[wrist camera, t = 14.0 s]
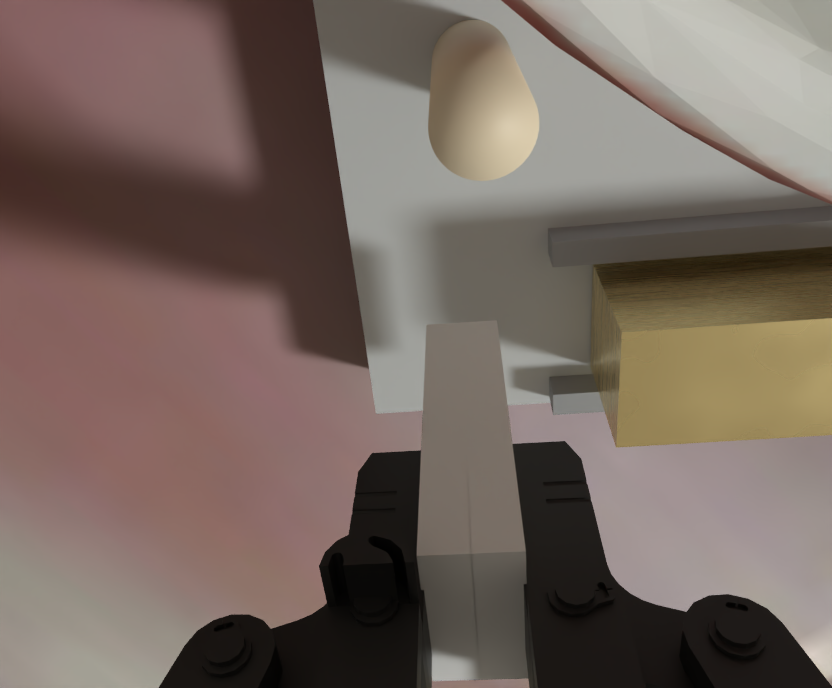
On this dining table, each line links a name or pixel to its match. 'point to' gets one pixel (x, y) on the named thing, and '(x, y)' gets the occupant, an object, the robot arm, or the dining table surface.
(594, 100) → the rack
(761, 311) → the tan rectangular block
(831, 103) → the mug
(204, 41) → the dining table surface
